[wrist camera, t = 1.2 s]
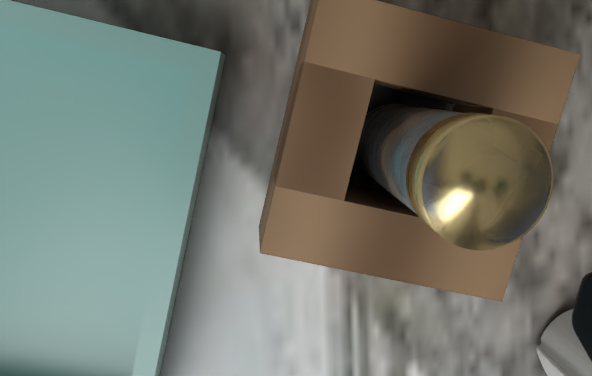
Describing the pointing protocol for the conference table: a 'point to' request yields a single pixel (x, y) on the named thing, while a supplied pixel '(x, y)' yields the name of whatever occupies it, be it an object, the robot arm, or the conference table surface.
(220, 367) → the conference table surface
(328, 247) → the pin block
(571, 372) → the photo printer
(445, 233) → the steel pin
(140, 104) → the tray
